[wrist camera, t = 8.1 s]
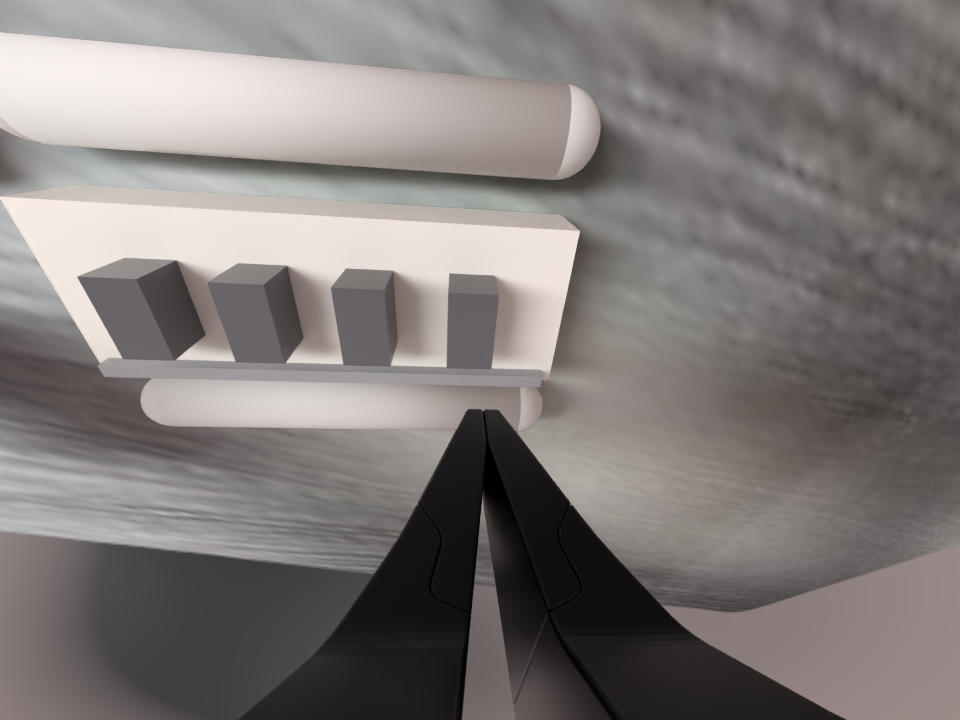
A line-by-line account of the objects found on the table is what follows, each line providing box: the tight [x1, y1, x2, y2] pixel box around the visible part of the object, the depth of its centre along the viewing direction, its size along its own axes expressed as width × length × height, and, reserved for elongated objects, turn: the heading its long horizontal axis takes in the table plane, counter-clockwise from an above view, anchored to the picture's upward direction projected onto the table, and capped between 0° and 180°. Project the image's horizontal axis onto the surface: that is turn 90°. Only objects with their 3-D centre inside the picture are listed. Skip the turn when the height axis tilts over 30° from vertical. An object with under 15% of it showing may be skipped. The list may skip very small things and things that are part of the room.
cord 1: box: [140, 378, 543, 431], centre depth 20 cm, size 21×3×3 cm, turn 86°
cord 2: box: [0, 32, 601, 180], centre depth 13 cm, size 21×3×3 cm, turn 86°
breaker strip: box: [0, 185, 580, 387], centre depth 15 cm, size 20×7×5 cm, turn 86°
